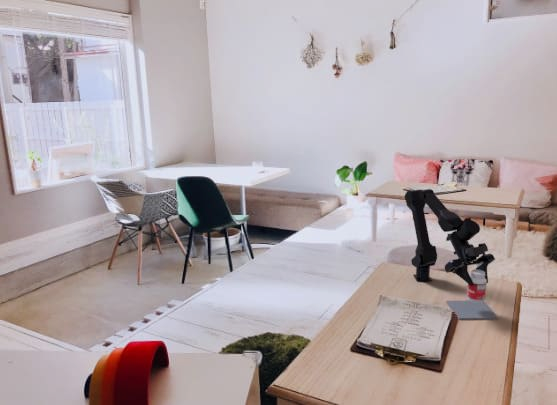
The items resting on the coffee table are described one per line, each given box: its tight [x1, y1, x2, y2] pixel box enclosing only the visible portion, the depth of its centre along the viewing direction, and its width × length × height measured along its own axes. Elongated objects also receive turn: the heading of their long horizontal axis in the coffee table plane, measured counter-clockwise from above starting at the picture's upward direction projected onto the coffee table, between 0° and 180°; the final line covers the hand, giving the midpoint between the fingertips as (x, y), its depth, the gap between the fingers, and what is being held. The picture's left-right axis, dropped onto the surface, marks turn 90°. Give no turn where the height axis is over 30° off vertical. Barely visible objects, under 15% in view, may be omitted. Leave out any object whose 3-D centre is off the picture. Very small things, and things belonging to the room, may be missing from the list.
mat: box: [446, 299, 499, 321], centre depth 177 cm, size 14×14×1 cm
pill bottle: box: [466, 268, 488, 303], centre depth 174 cm, size 6×6×11 cm
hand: (479, 284), depth 172 cm, fingers closed on pill bottle, 6 cm apart
